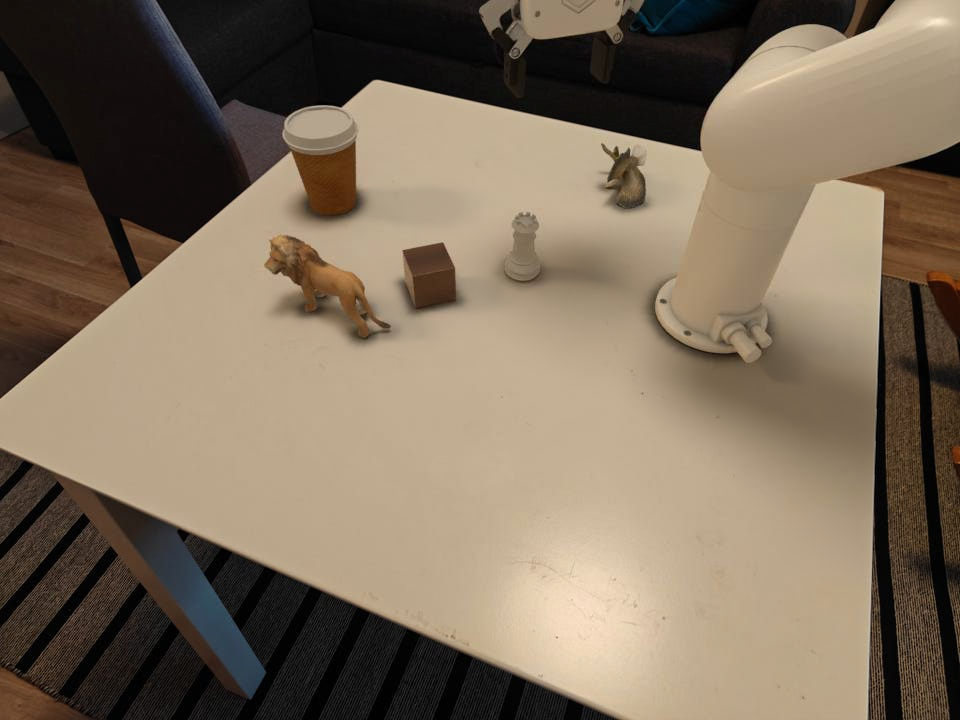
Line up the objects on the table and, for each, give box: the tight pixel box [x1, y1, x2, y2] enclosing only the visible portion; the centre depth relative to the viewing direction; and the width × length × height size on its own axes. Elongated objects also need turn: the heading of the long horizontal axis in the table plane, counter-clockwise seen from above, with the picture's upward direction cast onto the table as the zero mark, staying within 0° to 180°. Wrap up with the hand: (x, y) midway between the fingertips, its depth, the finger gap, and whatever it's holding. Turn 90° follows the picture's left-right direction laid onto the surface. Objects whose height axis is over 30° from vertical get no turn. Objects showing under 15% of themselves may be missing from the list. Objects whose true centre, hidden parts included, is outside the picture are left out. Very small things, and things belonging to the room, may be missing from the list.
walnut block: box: [401, 242, 457, 310], centre depth 76 cm, size 5×5×5 cm
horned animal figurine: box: [600, 142, 647, 209], centre depth 91 cm, size 8×7×9 cm
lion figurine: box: [263, 234, 392, 339], centre depth 72 cm, size 15×5×9 cm, turn 66°
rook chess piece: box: [503, 211, 541, 282], centre depth 78 cm, size 4×4×8 cm
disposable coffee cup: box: [282, 104, 359, 216], centre depth 86 cm, size 10×10×12 cm
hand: (557, 84), depth 68 cm, fingers open, 9 cm apart
